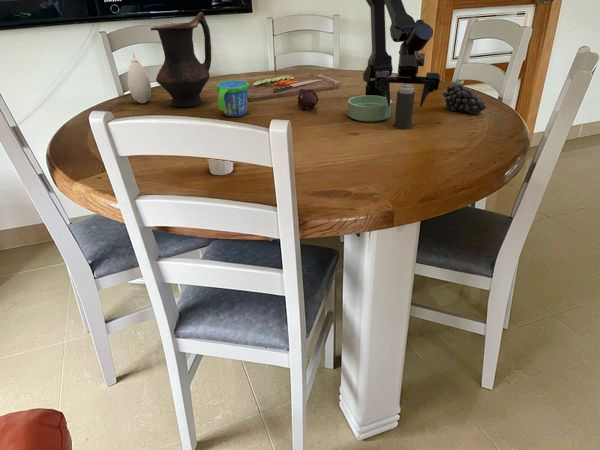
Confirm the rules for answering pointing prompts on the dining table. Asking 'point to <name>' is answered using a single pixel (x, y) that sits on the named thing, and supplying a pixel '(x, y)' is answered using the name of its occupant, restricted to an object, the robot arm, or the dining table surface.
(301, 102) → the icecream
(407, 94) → the pepper mill
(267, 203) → the dining table surface
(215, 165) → the shot glass
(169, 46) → the jug
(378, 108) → the bowl
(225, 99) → the snack cup
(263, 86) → the chopping board
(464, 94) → the fruit
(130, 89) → the teardrop candle
